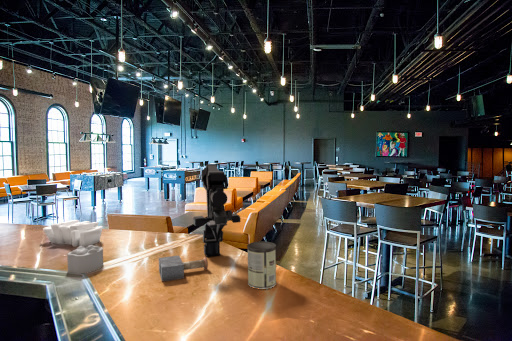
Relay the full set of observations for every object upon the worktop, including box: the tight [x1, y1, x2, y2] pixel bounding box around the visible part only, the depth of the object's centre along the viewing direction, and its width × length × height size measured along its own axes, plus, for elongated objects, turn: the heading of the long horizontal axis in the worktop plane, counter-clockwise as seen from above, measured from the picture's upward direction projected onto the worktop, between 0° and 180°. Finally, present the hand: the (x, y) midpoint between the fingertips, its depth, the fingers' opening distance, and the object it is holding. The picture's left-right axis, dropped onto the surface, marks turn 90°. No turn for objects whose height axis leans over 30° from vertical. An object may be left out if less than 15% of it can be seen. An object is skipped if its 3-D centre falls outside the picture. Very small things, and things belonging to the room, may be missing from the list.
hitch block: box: [158, 255, 185, 282], centre depth 122 cm, size 8×12×5 cm, turn 22°
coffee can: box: [246, 240, 277, 290], centre depth 113 cm, size 10×10×14 cm
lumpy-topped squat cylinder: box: [67, 244, 104, 275], centre depth 130 cm, size 10×13×9 cm
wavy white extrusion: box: [42, 219, 104, 248], centre depth 169 cm, size 35×16×11 cm, turn 64°
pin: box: [182, 256, 209, 271], centre depth 125 cm, size 13×5×5 cm, turn 112°
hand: (217, 240), depth 129 cm, fingers closed
